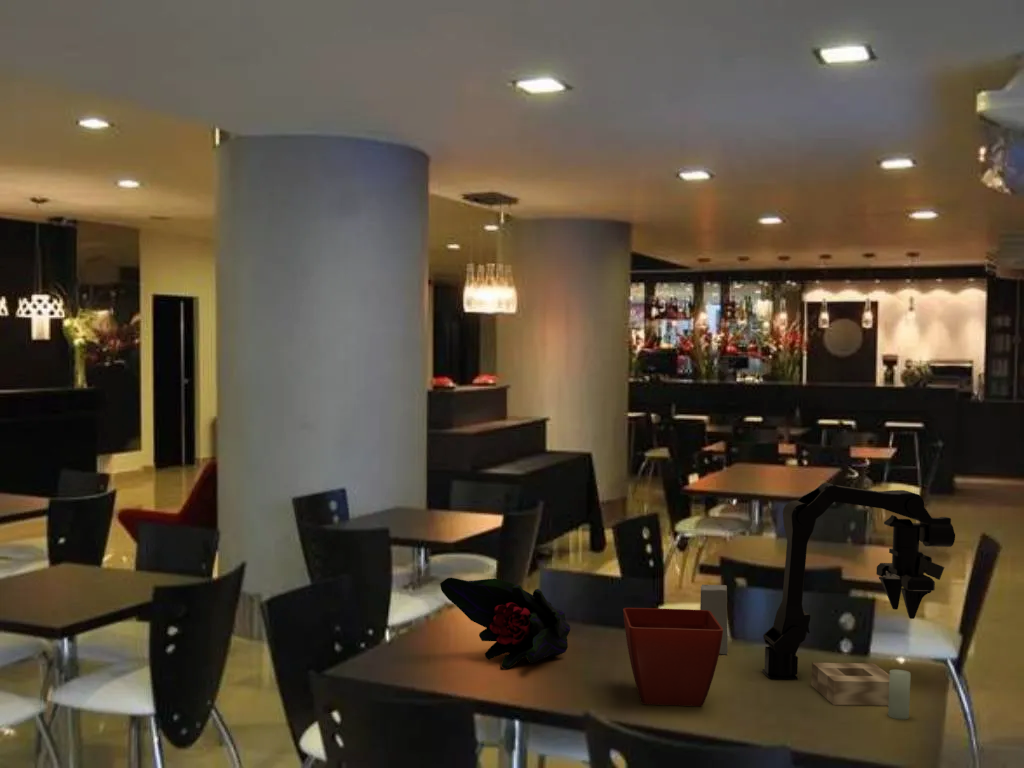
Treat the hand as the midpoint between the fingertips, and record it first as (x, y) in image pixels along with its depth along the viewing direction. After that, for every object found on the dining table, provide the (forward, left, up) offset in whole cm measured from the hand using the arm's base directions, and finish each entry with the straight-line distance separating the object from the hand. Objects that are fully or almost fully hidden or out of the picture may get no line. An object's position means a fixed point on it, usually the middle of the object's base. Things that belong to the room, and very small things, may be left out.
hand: (903, 613), depth 251 cm
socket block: (-16, -14, -15) cm, 26 cm away
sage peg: (-12, -28, -15) cm, 34 cm away
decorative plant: (-88, +8, -15) cm, 90 cm away
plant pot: (-57, -17, -15) cm, 62 cm away
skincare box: (-38, +22, -15) cm, 47 cm away
